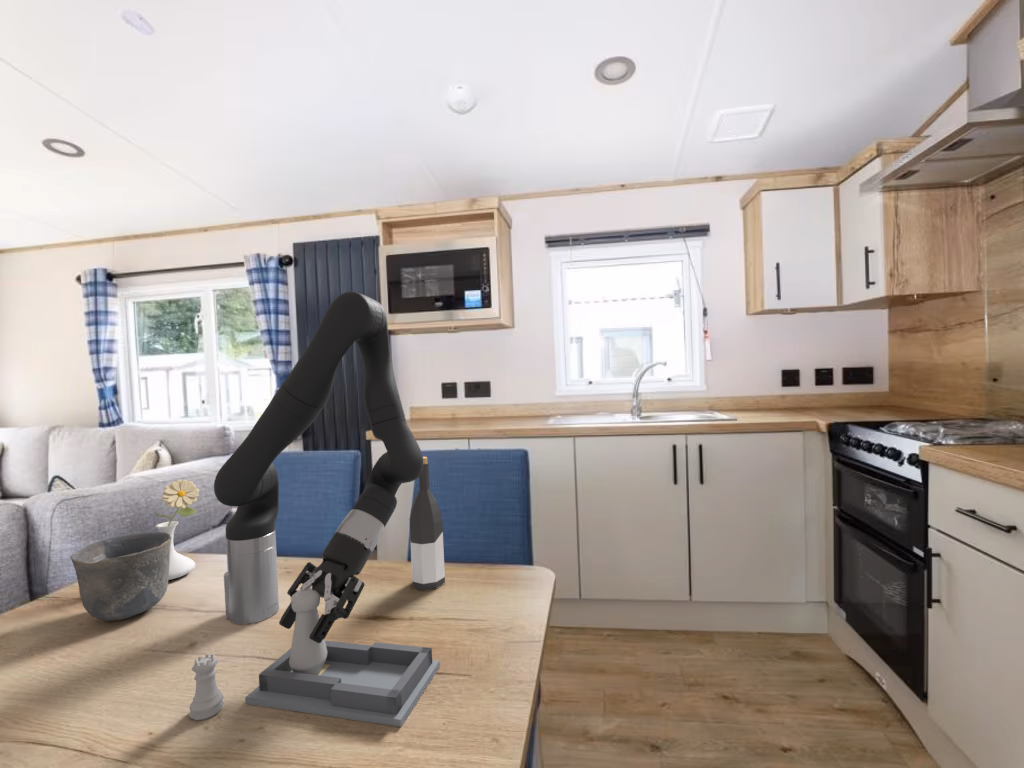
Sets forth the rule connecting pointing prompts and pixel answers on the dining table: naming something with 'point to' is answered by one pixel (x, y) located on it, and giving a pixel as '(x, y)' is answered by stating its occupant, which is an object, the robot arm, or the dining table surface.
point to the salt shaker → (306, 635)
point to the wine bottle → (426, 537)
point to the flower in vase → (178, 497)
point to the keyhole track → (351, 683)
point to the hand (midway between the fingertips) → (298, 633)
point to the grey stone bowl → (123, 574)
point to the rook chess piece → (206, 689)
